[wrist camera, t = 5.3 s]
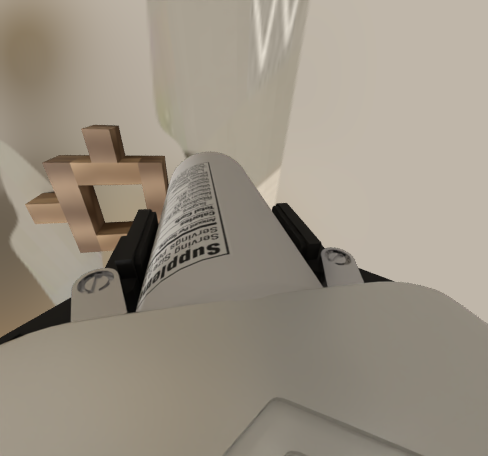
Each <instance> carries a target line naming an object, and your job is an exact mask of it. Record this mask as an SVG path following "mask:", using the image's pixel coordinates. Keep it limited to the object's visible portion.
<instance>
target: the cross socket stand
mask: <svg viewBox="0 0 488 456" xmlns="http://www.w3.org/2000/svg"><path fill="white" fill-rule="evenodd" d="M81 130H82V133H83V136H84V139H85V143H86V146H87V149H88V152H89V155H59V156H56V157H54V158H52V159H50V160H47V161H45V162H43V163H42V164H43V166H44V168H45V171H46V173H47V175H48V178H49V180H50V182H51V185H52V187H53V189H54V192H55V193H42V194H41V195H39V196H38V197H36V198H34V199H33V200H31V201H30V202H28V203H27V204H25V205H26V207H27V209H28V211H29V213H30V215H31V217H32V219H33V221H34V223H35V224H46V223H67V222H68V224H69V227H70V229H71V231H72V234H73V236H74V238H75V241H76V243H77V245H78V248H79V250H80V252H81V253H85V252H99V251H113V250H114V249H115V247H116V245H117V243H118V241H119V239H120V238H121V236H127V234H128V231H129V229H130V227H131V225H132V223H133V221H129V222H110V223H105V221H104V218H103V215H102V212H101V209H100V206H99V202H98V199H97V196H96V193H95V190H94V187H93V185H129V184H142V186H143V191H144V196H145V201H146V206H147V209H151V210H152V212H156V214H157V219H158V224H159V221H160V218H161V214H162V210H163V206H164V203H165V199H166V195H167V191H168V188H169V184H168V178H167V170H166V163H165V156H125V153H124V148H123V143H122V140H121V135H120V130H119V126H112V125H92V126H89V127H86V128H82V129H81Z"/></svg>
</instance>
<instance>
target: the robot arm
mask: <svg viewBox="0 0 488 456" xmlns="http://www.w3.org/2000/svg"><path fill="white" fill-rule="evenodd" d="M272 212H273V214H274V215H275V217H276V218H277V220H278V221H279V223H280V224H281V226H282V227H283V228H284V230H285V231H286V233H287V234H288V236H289V237H290V239H291V240H292V242H293V243H294V245H295V246H296V248H297V249H298V251H299V252H300V254H301V255H302V257H303V258H304V260H305V261H306V263H307V264H308V265H309V267H310V268H311V270H312V271H313V273H314V274H315V276H316V277H317V279H318V280H319V282H320V283H321V285H322V286H323V288H317V289H309V290H301V291H294V292H287V293H280V294H272V295H268V296H266V297H263V298H257V299H249V300H241V301H230V300H226V301H219V302H210V303H202V304H194V305H185V306H178V307H170V308H163V309H155V310H148V311H140V312H135V311H136V308H137V304H138V300H139V296H140V293H141V289H142V285H143V281H144V278H145V274H146V270H147V266H148V263H149V259H150V255H151V251H152V248H153V244H154V240H155V236H156V233H157V229H158V225H159V224H158V219H157V214H156V212H152V210H151V209H144V210H138V212H137V215H136V217H135V219H134V221H133V223H132V225H131V227H130V229H129V231H128V234H127V236H121V238H120V239H119V241H118V243H117V245H116V247H115V249H114V251H113V253H112V255H111V257H110V259H109V261H108V263H107V265H106V267H105V268H100V269H95V270H93V271H90V272H88V273H86V274H84V275H82V276H81V277H80V278H78V279H77V280H76V281H75V283H74V284H73V286H72V292H71V298H69V299H67V300H66V301H64V302H62V303H60V304H59V305H57V306H55V307H53V308H52V309H50V310H48V311H46V312H45V313H43V314H41V315H39V316H38V317H36V318H34V319H32V320H31V321H29V322H27V323H25V324H23V325H22V326H20V327H18V328H16V329H15V330H13V331H11V332H9V333H8V334H6V335H4V336H2V337H1V338H0V456H488V324H487V323H485V322H484V321H483V320H481V319H480V318H479V317H477V316H476V315H475V314H473V313H472V312H471V311H469V310H468V309H466V308H465V307H464V306H462V305H461V304H459V303H458V302H456V301H455V300H453V299H452V298H450V297H449V296H447V295H445V294H444V293H442V292H440V291H437V290H435V289H432V288H428V287H425V286H421V285H416V284H410V283H403V282H394V281H392V280H389V279H386V278H384V277H381V276H378V275H376V274H373V273H370V272H368V271H365V270H362V269H360V268H358V266H357V264H356V262H355V259H354V258H353V256H351V254H349V253H348V252H346V251H344V250H342V249H339V248H331V247H330V248H324V247H323V246H322V245H321V242H320V241H319V240H318V239H317V237H316V236H315V235H314V234H313V233H312V232H311V230H310V229H309V228H308V227H307V226H306V224H304V222H303V221H302V220H301V219H300V218H299V216H298V215H297V214H296V213H295V212H294V211H293V209H291V207H290V206H289V205H288V204H287V203H277V204H276V206H273V208H272Z"/></svg>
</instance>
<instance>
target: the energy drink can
mask: <svg viewBox="0 0 488 456" xmlns="http://www.w3.org/2000/svg"><path fill="white" fill-rule="evenodd" d="M317 288H323V286H322V285H321V283H320V282H319V280H318V279H317V277H316V276H315V274H314V273H313V271H312V270H311V268H310V267H309V265H308V264H307V263H306V261H305V260H304V258H303V257H302V255H301V254H300V252H299V251H298V249H297V248H296V246H295V245H294V243H293V242H292V240H291V239H290V237H289V236H288V234H287V233H286V231H285V230H284V228H283V227H282V226H281V224H280V223H279V221H278V220H277V218H276V217H275V215H274V214H273V212H272V211H271V209H270V208H269V206H268V205H267V203H266V202H265V200H264V199H263V197H262V196H261V194H260V193H259V191H258V190H257V189H256V187H255V186H254V184H253V183H252V181H251V180H250V178H249V177H248V175H247V174H246V172H245V171H244V169H243V168H242V167H241V165H240V164H239V163H238V162H237V161H235V160H234V159H232V158H231V157H229V156H227V155H225V154H222V153H217V152H201V153H197V154H194V155H192V156H190V157H188V158H186V159H185V160H184V161H182V162H181V163H180V164H179V165H178V167H177V168H176V169H175V171H174V173H173V174H172V177H171V181H170V184H169V188H168V191H167V195H166V199H165V203H164V206H163V210H162V214H161V218H160V221H159V225H158V229H157V233H156V236H155V240H154V244H153V248H152V251H151V255H150V259H149V263H148V266H147V270H146V274H145V278H144V281H143V285H142V289H141V293H140V296H139V300H138V304H137V308H136V311H135V312H140V311H148V310H155V309H163V308H170V307H178V306H185V305H194V304H202V303H210V302H219V301H226V300H230V301H241V300H249V299H257V298H263V297H266V296H268V295H272V294H280V293H287V292H294V291H301V290H309V289H317Z"/></svg>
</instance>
